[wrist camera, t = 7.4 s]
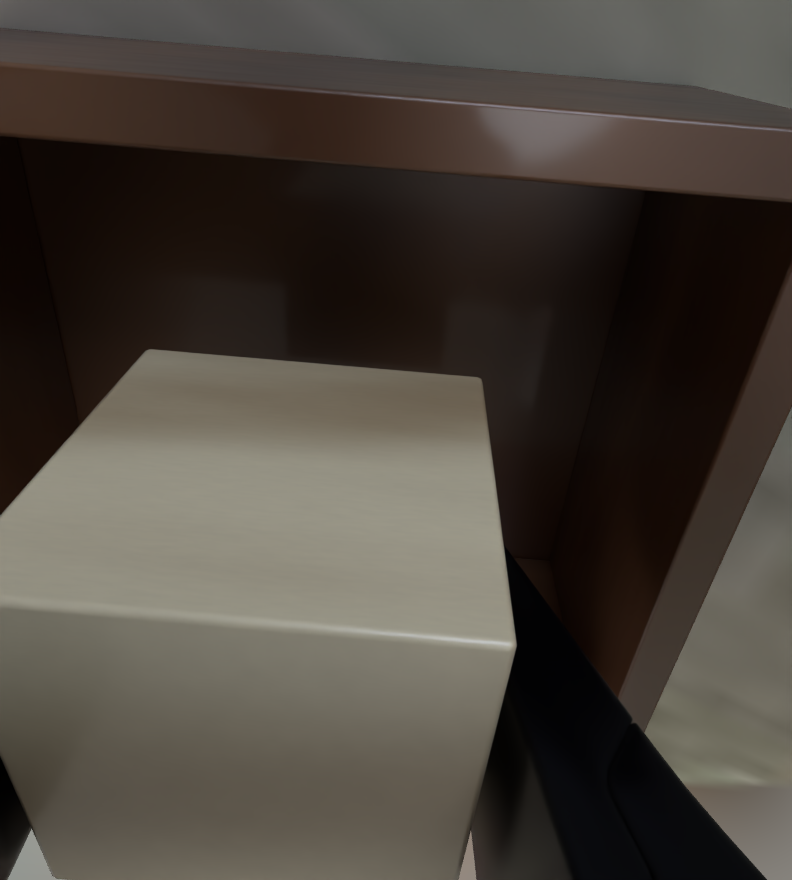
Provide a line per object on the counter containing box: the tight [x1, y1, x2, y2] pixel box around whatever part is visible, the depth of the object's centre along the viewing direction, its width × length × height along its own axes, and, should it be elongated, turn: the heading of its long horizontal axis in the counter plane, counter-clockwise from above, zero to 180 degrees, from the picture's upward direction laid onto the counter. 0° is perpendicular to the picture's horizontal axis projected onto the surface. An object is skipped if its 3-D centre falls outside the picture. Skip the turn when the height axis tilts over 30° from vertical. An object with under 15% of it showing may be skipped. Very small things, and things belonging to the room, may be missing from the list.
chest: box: [0, 28, 792, 732], centre depth 12 cm, size 13×11×6 cm
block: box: [0, 349, 517, 880], centre depth 8 cm, size 5×5×5 cm
